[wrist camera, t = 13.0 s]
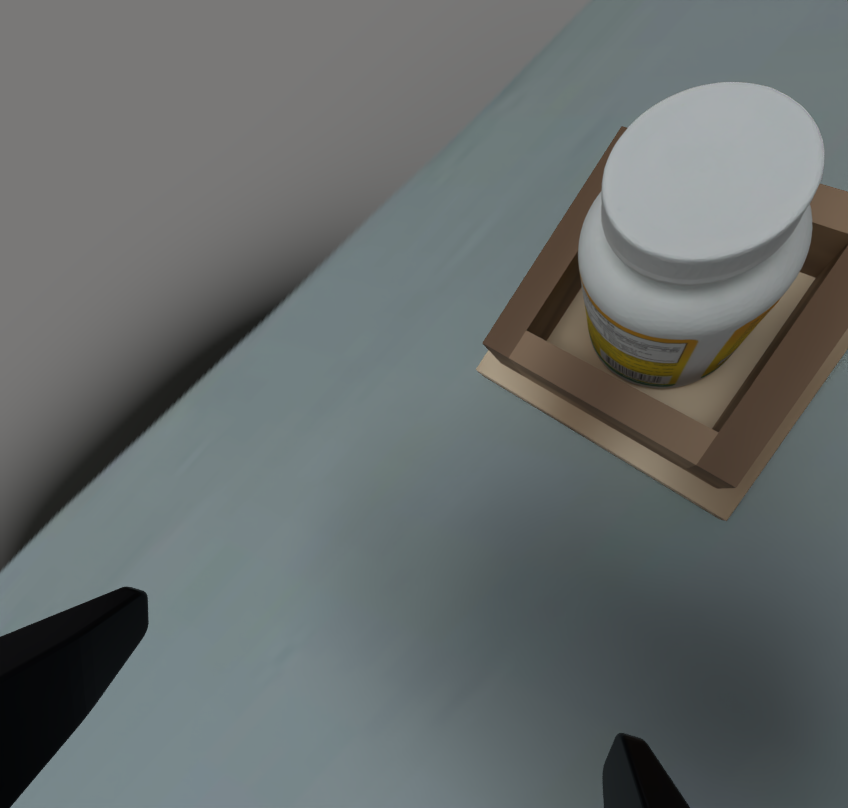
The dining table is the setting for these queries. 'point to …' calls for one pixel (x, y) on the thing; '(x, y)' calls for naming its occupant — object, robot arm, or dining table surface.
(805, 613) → the dining table surface
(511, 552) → the dining table surface
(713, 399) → the socket board
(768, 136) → the supplement bottle
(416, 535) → the dining table surface
